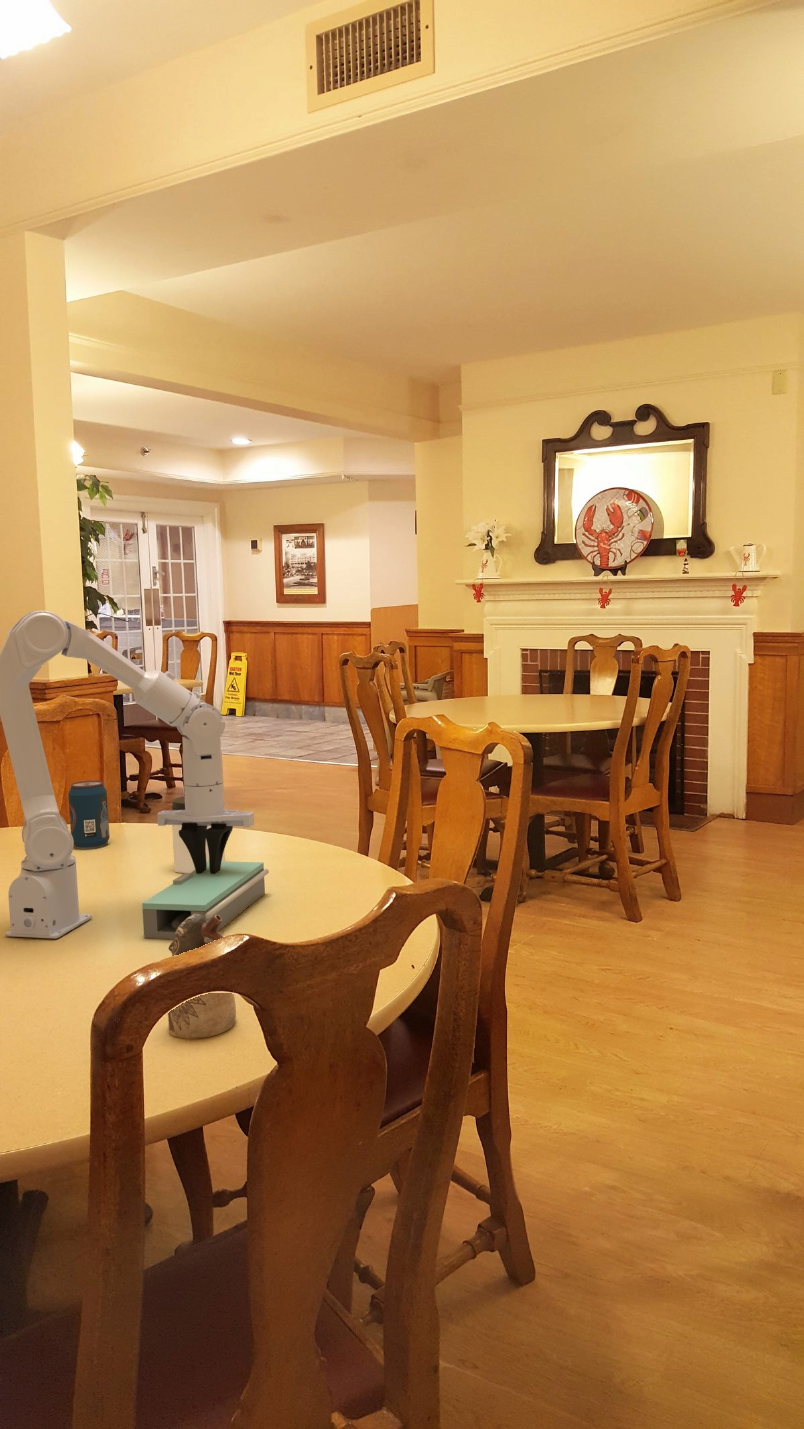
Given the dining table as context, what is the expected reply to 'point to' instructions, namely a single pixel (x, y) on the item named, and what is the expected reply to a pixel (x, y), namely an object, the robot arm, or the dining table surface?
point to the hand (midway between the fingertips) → (208, 873)
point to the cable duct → (227, 908)
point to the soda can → (88, 814)
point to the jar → (181, 852)
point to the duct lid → (202, 887)
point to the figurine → (205, 1010)
